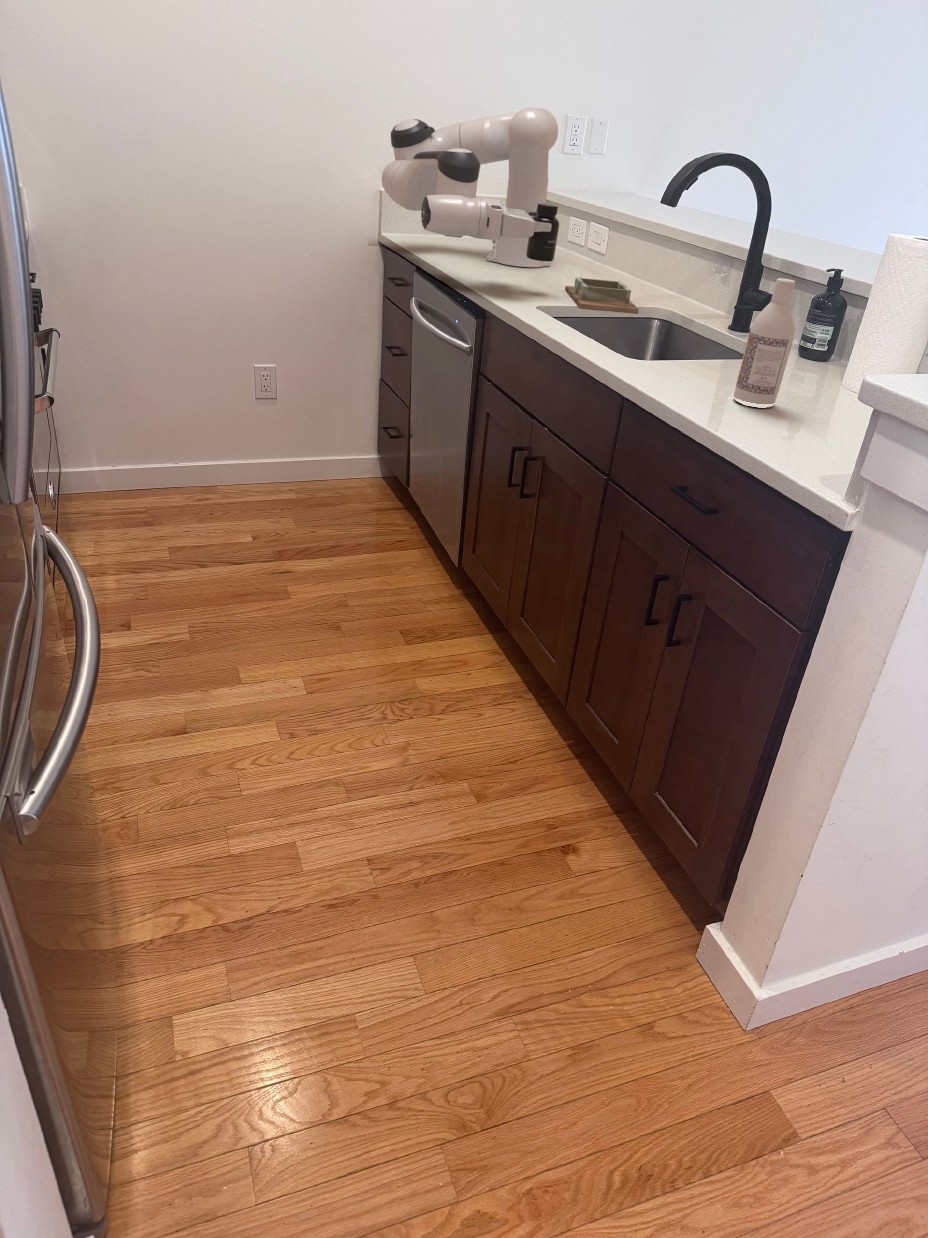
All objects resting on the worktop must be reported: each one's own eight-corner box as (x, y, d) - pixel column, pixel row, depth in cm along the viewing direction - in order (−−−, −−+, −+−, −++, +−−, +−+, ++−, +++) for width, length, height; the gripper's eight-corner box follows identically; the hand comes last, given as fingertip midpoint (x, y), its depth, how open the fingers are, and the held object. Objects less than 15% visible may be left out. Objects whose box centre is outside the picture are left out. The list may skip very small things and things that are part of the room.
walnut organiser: (564, 289, 224) (567, 273, 222) (618, 294, 226) (621, 278, 224) (579, 308, 206) (582, 290, 204) (638, 313, 207) (641, 295, 205)
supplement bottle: (552, 263, 208) (560, 207, 202) (524, 258, 209) (531, 203, 203) (555, 259, 214) (563, 205, 208) (527, 255, 215) (535, 201, 209)
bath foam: (742, 394, 154) (774, 273, 143) (780, 404, 150) (815, 282, 140) (725, 401, 149) (756, 277, 139) (763, 412, 145) (798, 285, 135)
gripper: (485, 227, 217) (540, 232, 218) (493, 239, 199) (552, 245, 201) (488, 199, 214) (544, 205, 215) (496, 209, 196) (557, 215, 198)
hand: (548, 224), depth 208 cm, fingers closed on supplement bottle, 7 cm apart
